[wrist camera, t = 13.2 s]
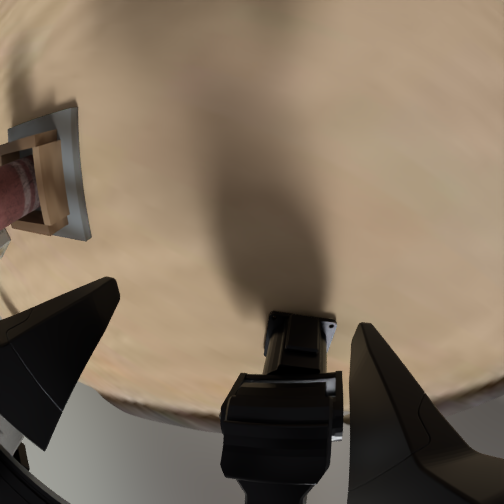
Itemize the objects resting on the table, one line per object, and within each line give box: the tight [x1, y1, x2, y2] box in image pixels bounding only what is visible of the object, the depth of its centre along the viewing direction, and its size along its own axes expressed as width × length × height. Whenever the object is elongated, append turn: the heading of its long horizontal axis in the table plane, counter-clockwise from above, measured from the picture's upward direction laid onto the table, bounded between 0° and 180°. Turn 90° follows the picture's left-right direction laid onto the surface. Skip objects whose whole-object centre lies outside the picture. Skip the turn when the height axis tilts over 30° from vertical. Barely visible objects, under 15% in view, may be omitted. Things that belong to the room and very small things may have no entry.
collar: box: [0, 107, 91, 241], centre depth 22 cm, size 14×14×4 cm
